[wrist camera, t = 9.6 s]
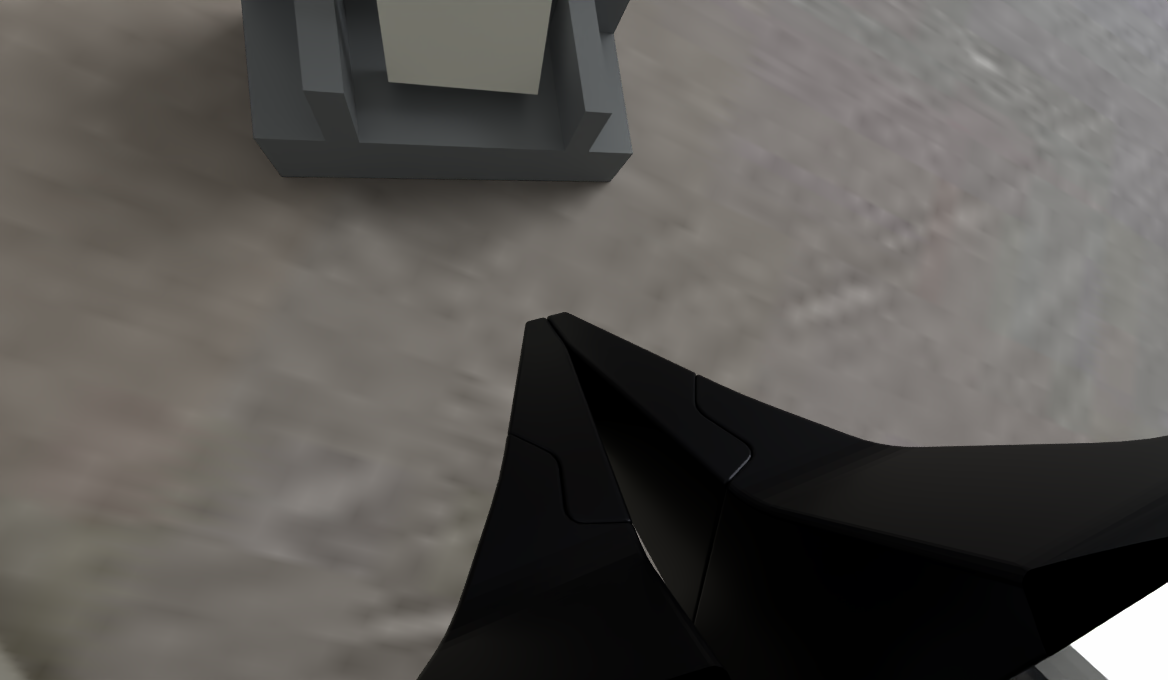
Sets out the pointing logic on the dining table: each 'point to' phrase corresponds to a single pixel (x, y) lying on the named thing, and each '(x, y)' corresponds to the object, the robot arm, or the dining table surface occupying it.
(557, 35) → the breaker box
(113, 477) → the dining table surface
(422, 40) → the breaker lever
